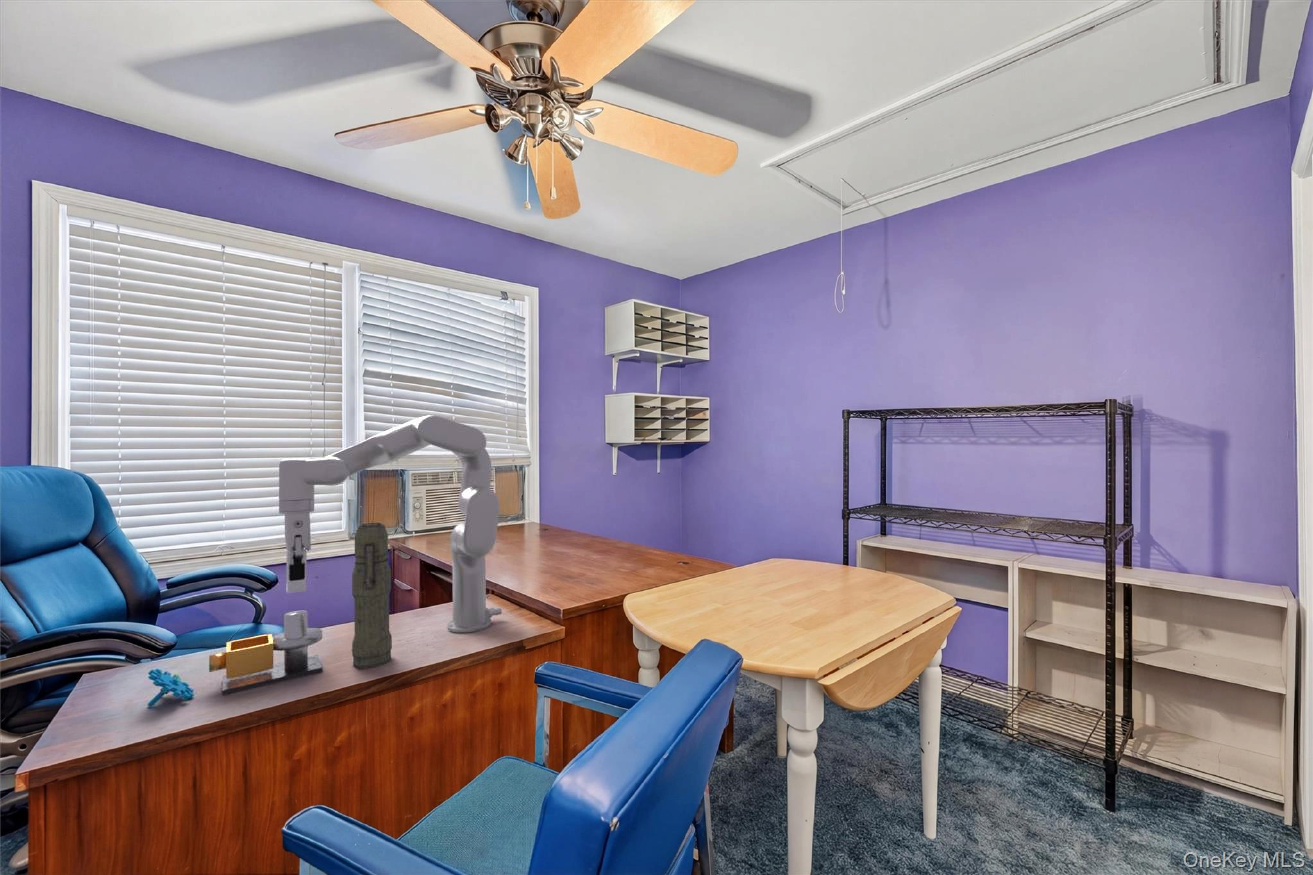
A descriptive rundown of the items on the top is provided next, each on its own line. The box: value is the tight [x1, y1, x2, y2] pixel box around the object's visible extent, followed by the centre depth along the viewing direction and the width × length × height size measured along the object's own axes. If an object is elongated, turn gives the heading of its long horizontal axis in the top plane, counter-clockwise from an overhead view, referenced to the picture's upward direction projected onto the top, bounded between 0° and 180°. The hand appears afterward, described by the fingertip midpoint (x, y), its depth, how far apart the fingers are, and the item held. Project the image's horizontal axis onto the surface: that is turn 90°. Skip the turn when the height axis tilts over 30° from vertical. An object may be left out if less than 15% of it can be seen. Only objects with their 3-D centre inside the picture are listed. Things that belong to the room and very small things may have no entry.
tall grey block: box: [285, 548, 308, 594], centre depth 135 cm, size 4×4×10 cm
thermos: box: [351, 522, 393, 669], centre depth 135 cm, size 9×12×35 cm
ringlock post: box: [208, 609, 324, 696], centre depth 127 cm, size 22×11×14 cm, turn 128°
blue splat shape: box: [147, 668, 195, 708], centre depth 115 cm, size 11×6×10 cm
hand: (296, 577), depth 135 cm, fingers closed on tall grey block, 3 cm apart
